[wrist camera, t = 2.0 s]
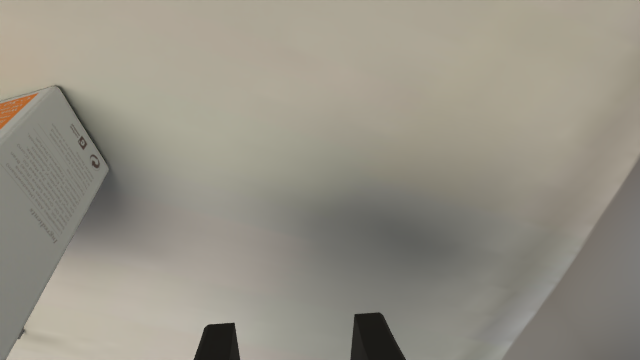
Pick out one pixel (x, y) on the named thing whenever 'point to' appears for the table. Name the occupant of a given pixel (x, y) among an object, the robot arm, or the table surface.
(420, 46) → the table surface
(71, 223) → the skincare box
